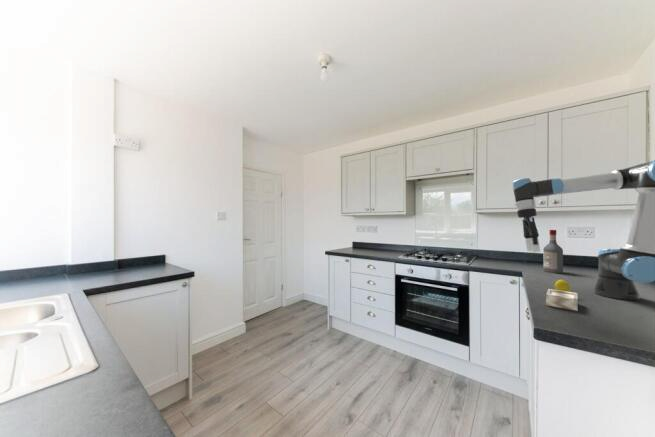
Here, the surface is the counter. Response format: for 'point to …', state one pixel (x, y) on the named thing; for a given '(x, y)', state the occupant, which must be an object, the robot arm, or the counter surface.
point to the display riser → (562, 299)
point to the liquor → (553, 255)
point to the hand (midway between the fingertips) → (533, 251)
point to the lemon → (562, 286)
